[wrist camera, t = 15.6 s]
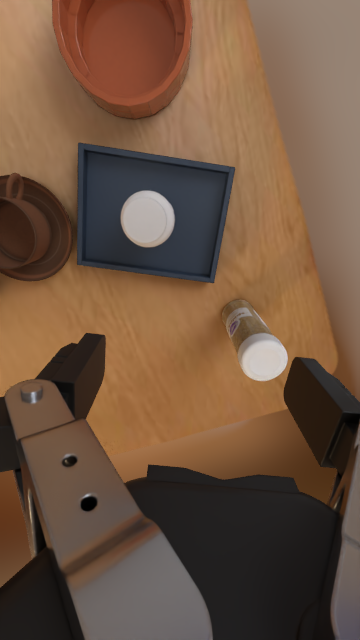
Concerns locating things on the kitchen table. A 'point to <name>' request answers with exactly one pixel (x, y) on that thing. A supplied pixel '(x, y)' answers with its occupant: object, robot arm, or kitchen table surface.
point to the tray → (171, 182)
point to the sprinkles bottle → (253, 342)
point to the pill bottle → (147, 218)
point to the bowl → (126, 50)
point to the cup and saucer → (31, 230)
